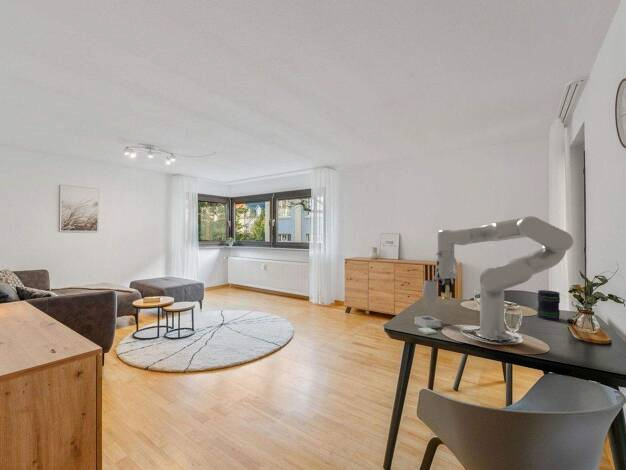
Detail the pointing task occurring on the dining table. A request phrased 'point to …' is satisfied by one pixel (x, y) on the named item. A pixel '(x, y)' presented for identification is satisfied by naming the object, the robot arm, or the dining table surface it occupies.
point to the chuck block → (427, 321)
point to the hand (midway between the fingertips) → (445, 291)
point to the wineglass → (430, 292)
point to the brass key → (446, 289)
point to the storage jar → (548, 305)
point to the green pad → (427, 330)
